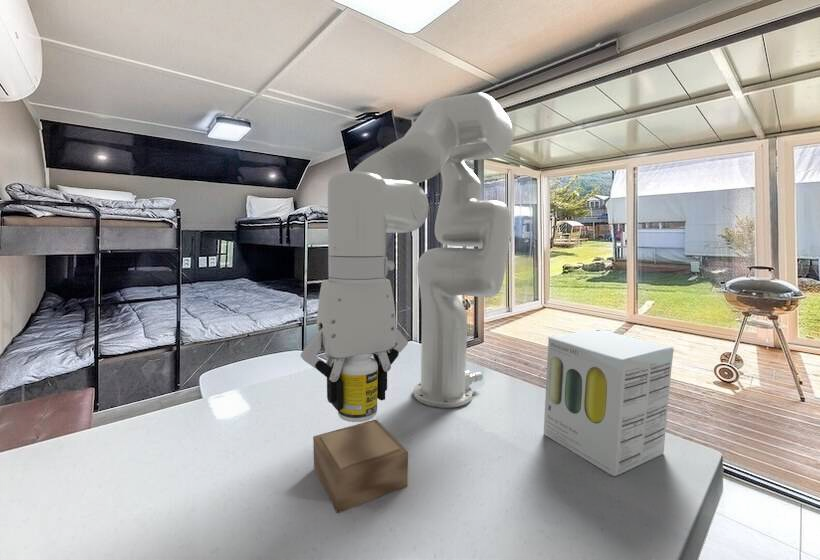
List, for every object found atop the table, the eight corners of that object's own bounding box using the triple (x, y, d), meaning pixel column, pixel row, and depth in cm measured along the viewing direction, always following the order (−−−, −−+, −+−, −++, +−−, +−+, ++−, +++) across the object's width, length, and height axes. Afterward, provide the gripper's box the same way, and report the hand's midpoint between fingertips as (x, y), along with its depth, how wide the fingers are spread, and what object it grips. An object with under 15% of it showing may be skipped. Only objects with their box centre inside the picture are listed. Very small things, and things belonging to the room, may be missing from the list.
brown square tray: (376, 449, 58) (376, 417, 58) (407, 485, 50) (407, 449, 49) (314, 468, 53) (313, 434, 52) (337, 513, 45) (336, 473, 44)
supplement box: (540, 434, 63) (545, 335, 61) (590, 417, 69) (596, 327, 67) (614, 479, 51) (623, 359, 49) (665, 454, 58) (676, 346, 56)
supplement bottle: (370, 425, 47) (370, 352, 46) (331, 421, 48) (330, 349, 47) (382, 407, 52) (382, 340, 51) (346, 403, 53) (346, 338, 52)
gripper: (400, 266, 55) (399, 380, 57) (284, 269, 47) (287, 404, 49) (427, 270, 49) (425, 398, 51) (298, 274, 40) (301, 429, 42)
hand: (357, 400), depth 50 cm, fingers closed on supplement bottle, 5 cm apart
